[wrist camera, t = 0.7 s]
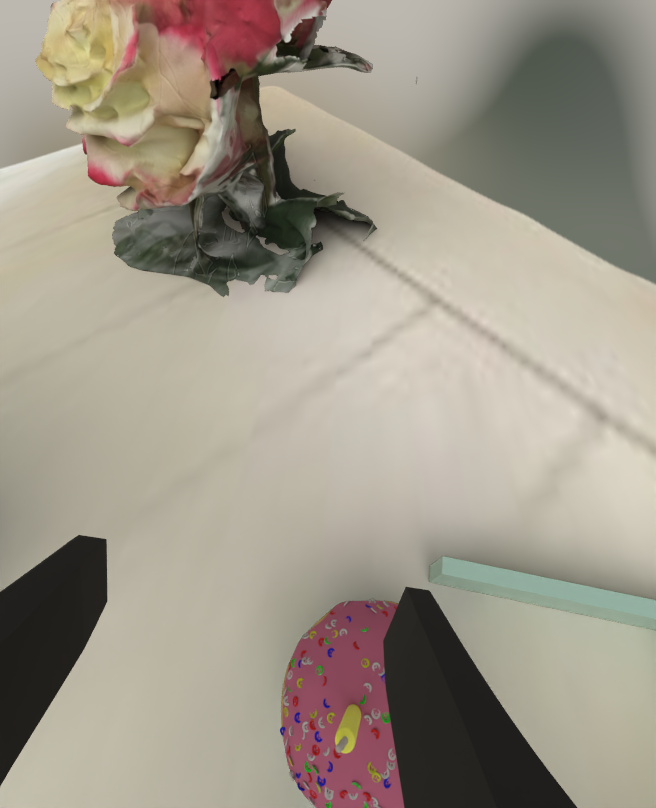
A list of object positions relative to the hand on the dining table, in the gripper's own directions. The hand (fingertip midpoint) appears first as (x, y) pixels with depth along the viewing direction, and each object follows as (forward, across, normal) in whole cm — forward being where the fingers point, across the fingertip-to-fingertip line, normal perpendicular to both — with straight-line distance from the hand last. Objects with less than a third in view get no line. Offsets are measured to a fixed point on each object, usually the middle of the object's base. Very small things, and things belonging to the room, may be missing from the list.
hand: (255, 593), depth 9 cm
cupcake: (+7, -7, +15) cm, 18 cm away
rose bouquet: (+43, +11, -6) cm, 45 cm away
